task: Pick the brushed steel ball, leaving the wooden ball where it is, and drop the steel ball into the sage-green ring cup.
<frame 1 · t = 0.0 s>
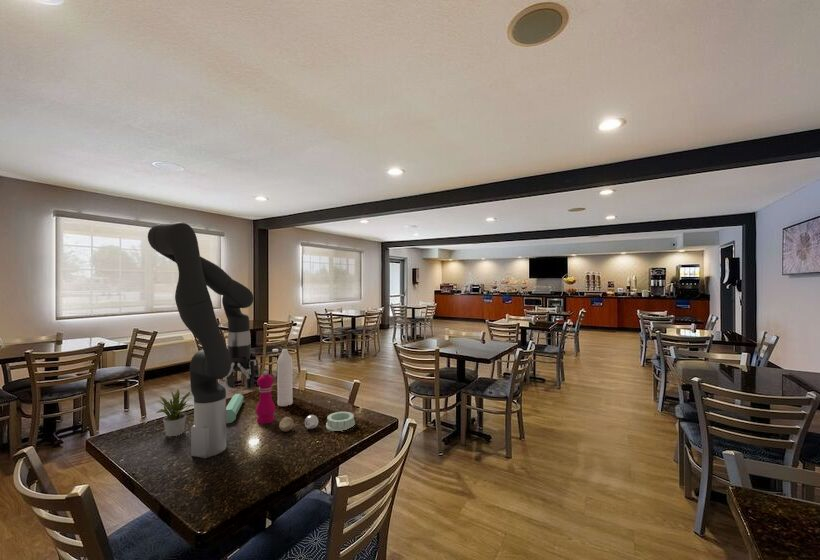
hand: (240, 387, 129), 17 cm above the table, tool pointing down, fingers open, 8 cm apart
mint green faceted rod: (233, 412, 151), on the table
steel ball: (311, 428, 133), on the table
pepper mill: (265, 421, 141), on the table
house plant: (177, 435, 129), on the table
ring cup: (340, 425, 136), on the table
wooden ball: (286, 430, 131), on the table
water bottle: (282, 404, 160), on the table
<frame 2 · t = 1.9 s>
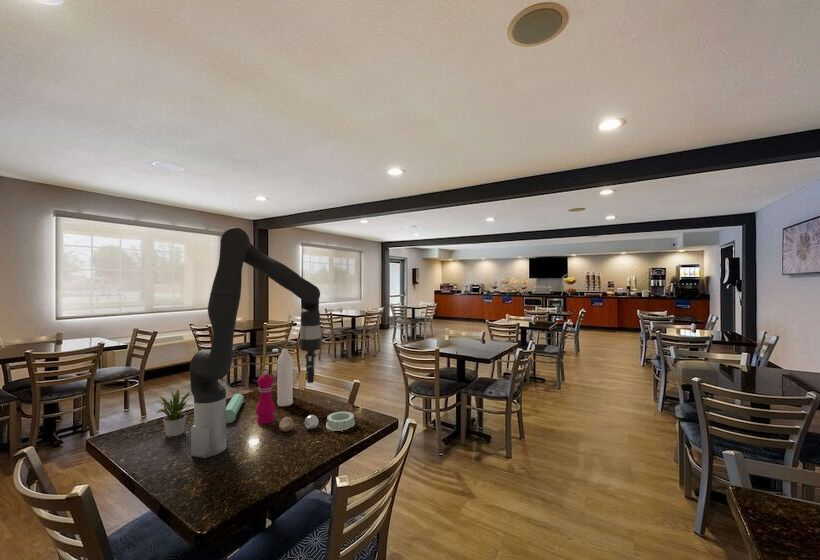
hand: (311, 379, 134), 19 cm above the table, tool pointing down, fingers open, 8 cm apart
nothing on the table moved.
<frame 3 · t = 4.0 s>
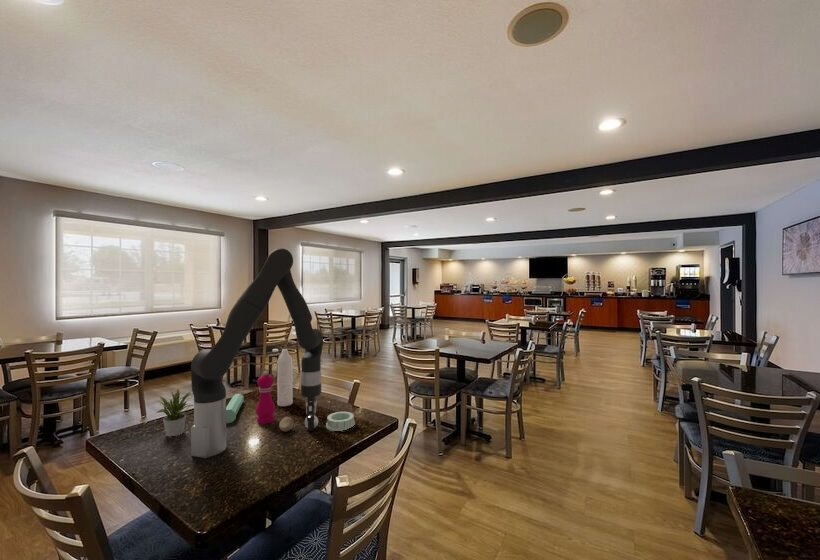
hand: (311, 426, 133), 1 cm above the table, tool pointing down, fingers closed on steel ball, 5 cm apart
steel ball: (311, 428, 133), on the table, touching gripper
everything else where it was.
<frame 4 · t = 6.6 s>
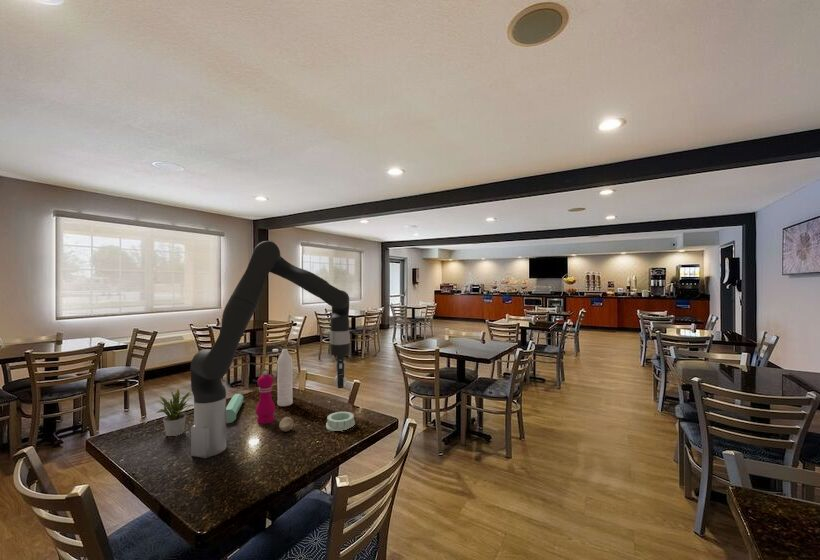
hand: (340, 385, 136), 15 cm above the table, tool pointing down, fingers closed on steel ball, 5 cm apart
steel ball: (340, 387, 136), point 15 cm above the table, touching gripper
everything else where it was.
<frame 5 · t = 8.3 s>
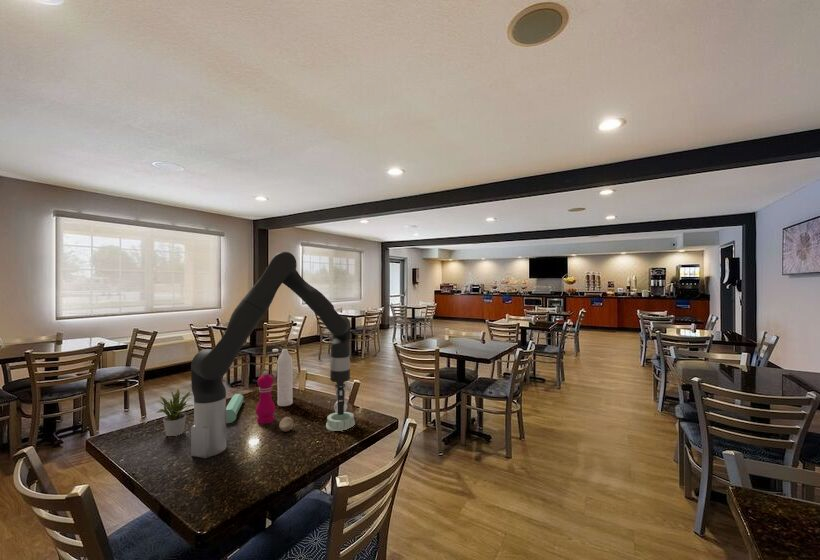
hand: (340, 411, 136), 5 cm above the table, tool pointing down, fingers closed on steel ball, 5 cm apart
steel ball: (340, 413, 136), point 5 cm above the table, touching gripper
everything else where it was.
when the fingers open (4 cm above the table, at t = 9.4 s): steel ball drops 3 cm, resting on ring cup.
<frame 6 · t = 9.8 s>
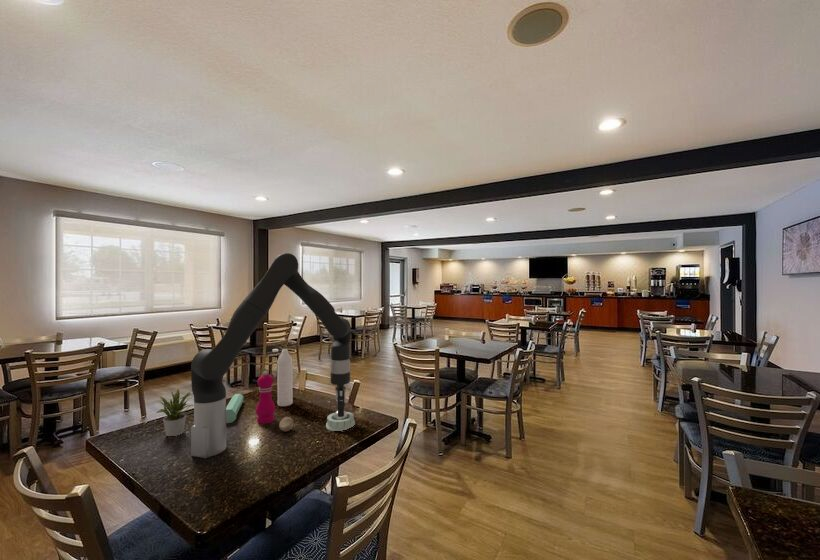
hand: (340, 412, 136), 5 cm above the table, tool pointing down, fingers open, 8 cm apart
steel ball: (340, 423, 136), point 1 cm above the table, touching ring cup
everything else where it was.
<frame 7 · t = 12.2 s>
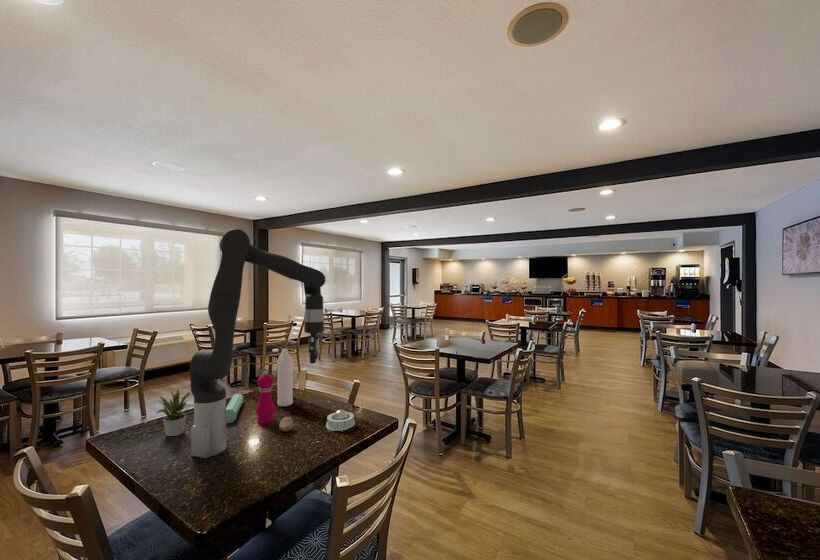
hand: (313, 360, 141), 24 cm above the table, tool pointing down, fingers open, 8 cm apart
nothing on the table moved.
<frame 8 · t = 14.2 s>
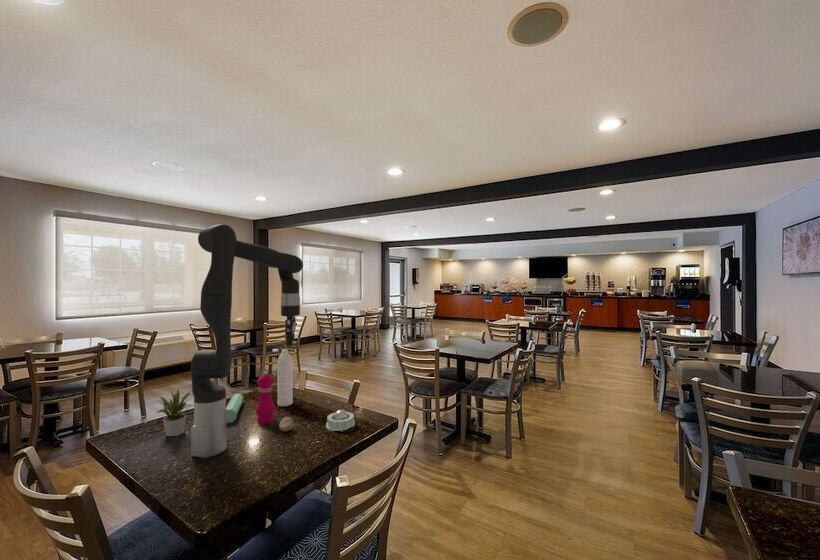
hand: (290, 343, 147), 30 cm above the table, tool pointing down, fingers open, 8 cm apart
nothing on the table moved.
at the end: steel ball 0.0 cm off-centre on the ring cup, point 1.0 cm above the ring cup's base; the gripper is holding nothing; wooden ball moved 0.0 cm from its start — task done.
